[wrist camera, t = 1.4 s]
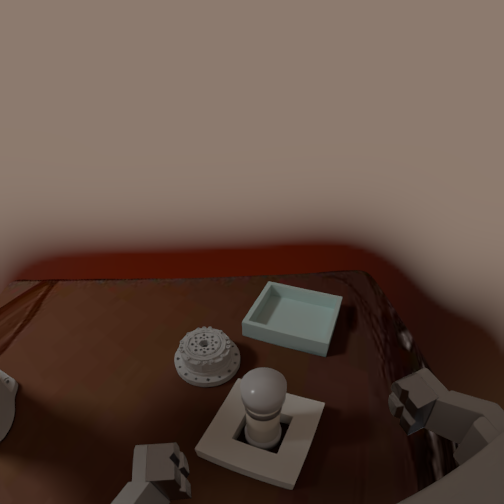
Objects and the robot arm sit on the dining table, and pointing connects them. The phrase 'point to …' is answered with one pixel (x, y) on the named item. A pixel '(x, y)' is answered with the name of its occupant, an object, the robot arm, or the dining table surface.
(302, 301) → the parts tray
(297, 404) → the grey square frame
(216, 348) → the mechanical component
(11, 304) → the dining table surface
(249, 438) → the grey peg
